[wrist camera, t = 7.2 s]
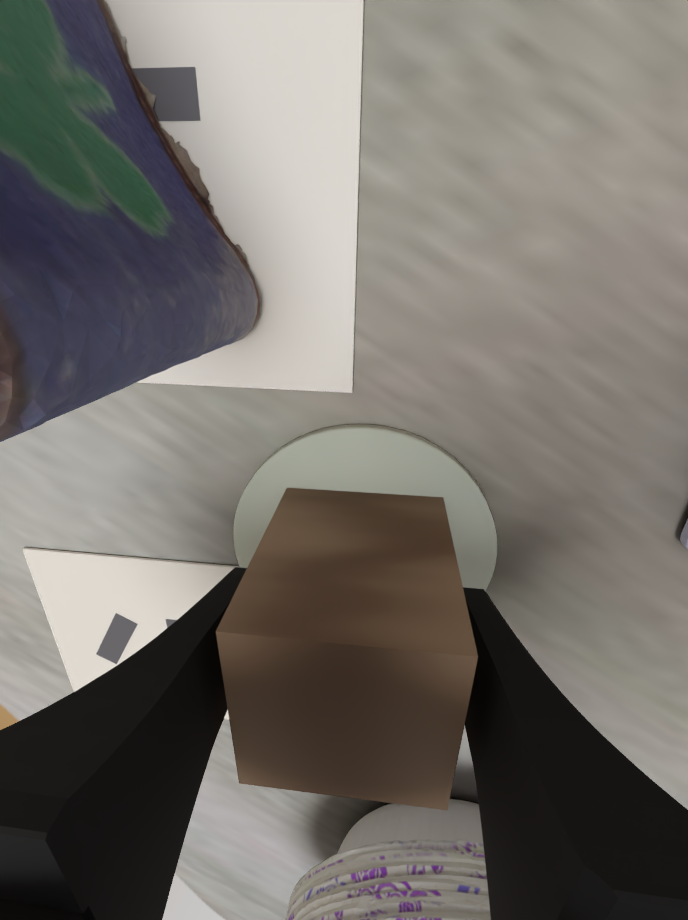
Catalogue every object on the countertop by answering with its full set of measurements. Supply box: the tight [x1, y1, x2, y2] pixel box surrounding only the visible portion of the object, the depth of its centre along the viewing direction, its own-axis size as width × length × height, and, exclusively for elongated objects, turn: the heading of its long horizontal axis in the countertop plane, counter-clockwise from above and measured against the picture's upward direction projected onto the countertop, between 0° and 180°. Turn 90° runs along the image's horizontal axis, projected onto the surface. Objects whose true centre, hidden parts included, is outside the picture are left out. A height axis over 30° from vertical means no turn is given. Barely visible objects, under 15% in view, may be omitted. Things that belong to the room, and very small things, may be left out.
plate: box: [233, 424, 497, 592], centre depth 15 cm, size 9×9×1 cm
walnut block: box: [216, 488, 478, 810], centre depth 12 cm, size 5×5×6 cm
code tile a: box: [105, 0, 364, 393], centre depth 11 cm, size 11×11×1 cm
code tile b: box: [22, 547, 239, 719], centre depth 18 cm, size 9×9×1 cm
